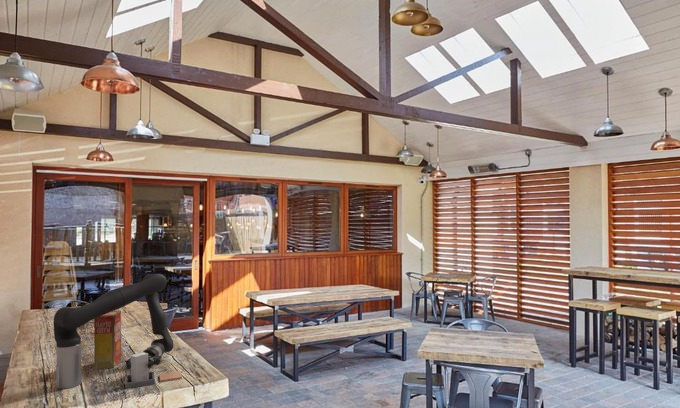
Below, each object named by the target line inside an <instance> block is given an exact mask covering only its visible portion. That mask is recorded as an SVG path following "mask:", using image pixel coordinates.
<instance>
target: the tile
mask: <svg viewBox="0 0 680 408" xmlns="http://www.w3.org/2000/svg"><path fill="white" fill-rule="evenodd" d="M158 375H159V377H158V378H159V382H160V383H163V382H169V381H176V380H181V379H183V376H182V372H181V370H178V371H172V372H163V373H159V374H158Z"/></svg>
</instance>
